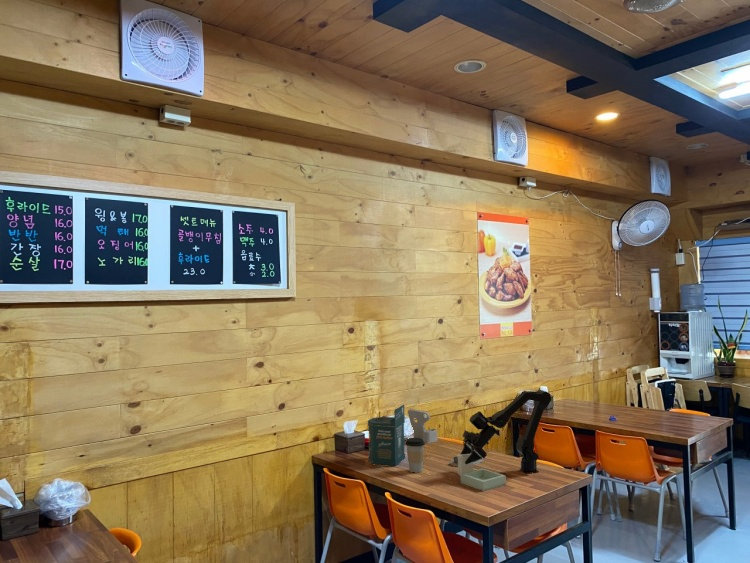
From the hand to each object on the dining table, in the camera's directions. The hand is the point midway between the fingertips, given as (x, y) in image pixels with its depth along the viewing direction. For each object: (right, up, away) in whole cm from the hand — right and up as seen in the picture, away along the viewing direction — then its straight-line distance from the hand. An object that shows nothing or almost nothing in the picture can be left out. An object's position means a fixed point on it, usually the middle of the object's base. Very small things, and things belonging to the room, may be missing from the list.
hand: (462, 461), depth 265 cm
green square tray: (+7, -6, -13) cm, 16 cm away
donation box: (-36, -8, +26) cm, 45 cm away
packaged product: (+6, -8, +21) cm, 23 cm away
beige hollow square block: (+1, -7, 0) cm, 7 cm away
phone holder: (-13, -10, +70) cm, 72 cm away
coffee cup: (-22, -7, +8) cm, 24 cm away
